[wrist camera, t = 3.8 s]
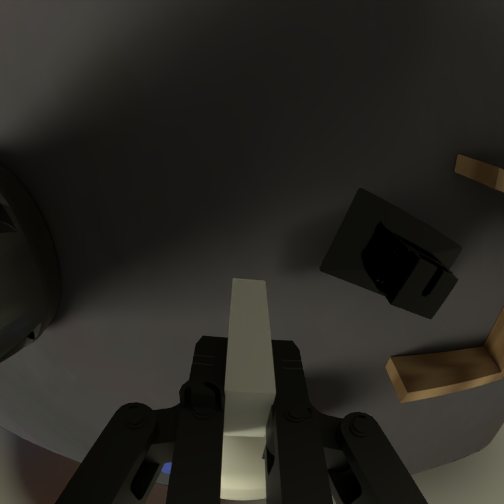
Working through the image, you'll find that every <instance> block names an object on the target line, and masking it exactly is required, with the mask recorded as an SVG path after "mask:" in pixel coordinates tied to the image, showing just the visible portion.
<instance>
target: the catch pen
mask: <svg viewBox="0 0 504 504" xmlns="http://www.w3.org/2000/svg"><path fill="white" fill-rule="evenodd" d="M454 172H456V173H458V174H461V175H463V176H466V177H468V178H470V179H473V180H475V181H478V182H480V183H482V184H484V185H487V186H489V187H491V188H493V189H496V190H499V191H501V192H504V170H503V169H501V168H499V167H496V166H493V165H490V164H487V163H484V162H481V161H478V160H475V159H472V158H469V157H466V156H463V155H459V154H458V155H457V160H456V165H455V171H454ZM385 368H386V370H387V372H388V375H389V377H390V379H391V381H392V384H393V386H394V388H395V390H396V393H397V395H398V397H399V399H400V402H401V403H402V402H409V401H414V400H420V399H425V398H430V397H435V396H440V395H444V394H449V393H453V392H457V391H461V390H465V389H469V388H473V387H476V386H480V385H483V384H487V383H490V382H493V381H497V380H500V379H502V378H503V376H504V307H503V309H502V311H501V313H500V315H499V317H498V319H497V321H496V323H495V325H494V327H493V329H492V331H491V332H490V334H489V336H488V338H487V340H486V341H485V343H484V345H483V346H481V347H475V348H469V349H462V350H455V351H447V352H439V353H430V354H420V355H409V356H397V357H390V358H389V360H388V362H387V364H386V366H385Z"/></svg>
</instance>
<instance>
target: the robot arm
mask: <svg viewBox="0 0 504 504" xmlns="http://www.w3.org/2000/svg"><path fill="white" fill-rule="evenodd" d="M60 292H61V284H60V272H59V266H58V261H57V257H56V253H55V249H54V246H53V243H52V240H51V237H50V234H49V231H48V229H47V227H46V224H45V222H44V220H43V218H42V216H41V214H40V212H39V210H38V208H37V206H36V204H35V203H34V201H33V199H32V198H31V196H30V195H29V193H28V192H27V190H26V189H25V188H24V187H23V185H22V184H21V183H20V182H19V181H18V179H17V178H16V177H15V176H14V175H13V174H12V173H11V172H9V171H8V170H7V169H6V168H4V167H3V166H1V165H0V363H1V362H2V361H4V360H6V359H7V358H9V357H10V356H12V355H14V354H15V353H17V352H18V351H19V350H21V349H22V348H23V347H26V346H28V345H30V344H31V343H33V342H34V341H36V340H37V339H38V338H39V337H40V336H41V334H42V333H43V332H44V330H45V329H46V327H47V326H48V325H49V323H50V322H51V321H52V319H53V318H54V316H55V314H56V312H57V309H58V306H59V301H60ZM179 395H180V403H179V404H178V405H176V406H174V407H171V408H167V409H160V410H152V409H151V408H150V407H148V406H147V405H145V404H142V403H137V402H135V403H128V404H125V405H123V406H121V407H120V408H119V409H118V410H117V411H116V413H115V414H114V415H113V417H112V418H111V420H110V421H109V423H108V424H107V426H106V427H105V429H104V430H103V432H102V433H101V435H100V436H99V438H98V439H97V441H96V442H95V443H94V445H93V446H92V448H91V449H90V451H89V452H88V454H87V455H86V457H85V458H84V460H83V461H82V463H81V464H80V466H79V467H78V469H77V471H76V472H75V474H74V475H73V477H72V478H71V480H70V481H69V483H68V484H67V486H66V487H65V489H64V490H63V492H62V493H61V495H60V496H59V498H58V500H57V501H56V503H55V504H145V502H146V500H147V498H148V496H149V494H150V492H151V490H152V488H153V486H154V484H155V482H156V480H157V478H158V476H159V474H160V472H161V470H162V468H163V466H164V464H165V463H170V462H172V465H171V471H170V478H169V485H168V491H167V499H166V504H220V495H221V472H222V451H223V435H228V436H247V437H264V436H265V433H266V445H265V448H264V451H263V455H262V459H265V479H266V502H267V504H333V500H332V495H333V498H334V500H335V502H336V504H428V503H427V501H426V499H425V498H424V496H423V495H422V493H421V492H420V490H419V488H418V487H417V485H416V484H415V482H414V480H413V478H412V477H411V475H410V474H409V472H408V470H407V469H406V467H405V466H404V464H403V462H402V461H401V459H400V458H399V456H398V455H397V453H396V451H395V450H394V448H393V447H392V445H391V443H390V442H389V440H388V439H387V437H386V435H385V434H384V432H383V431H382V429H381V428H380V426H379V424H378V423H377V421H376V420H375V419H374V418H373V417H372V416H370V415H368V414H366V413H362V412H354V413H350V414H348V415H346V416H345V417H344V418H343V419H342V418H337V417H333V416H328V415H325V414H322V413H321V412H319V411H317V410H316V409H315V408H314V407H313V406H312V404H311V403H310V401H309V398H308V392H307V387H306V382H305V377H304V371H303V366H302V362H301V356H300V351H299V349H298V347H297V346H296V345H295V343H294V342H293V341H286V340H271V334H270V324H269V313H268V303H267V293H266V283H265V281H263V280H250V279H238V278H233V284H232V296H231V308H230V321H229V334H228V338H224V337H212V336H202V337H201V339H200V340H199V341H198V342H197V343H196V346H195V351H194V357H193V362H192V367H191V372H190V378H189V381H187V382H186V383H185V384H183V385H182V387H181V389H180V391H179ZM331 493H332V494H331Z"/></svg>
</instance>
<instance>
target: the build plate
mask: <svg viewBox="0 0 504 504" xmlns="http://www.w3.org/2000/svg"><path fill="white" fill-rule="evenodd" d="M461 250H462V247H461V246H460V245H458V244H457V243H455V242H453V241H452V240H450V239H449V238H447V237H446V236H444V235H443V234H441V233H439V232H438V231H436V230H435V229H433V228H431V227H430V226H428V225H426V224H425V223H423V222H421V221H420V220H418V219H416V218H415V217H413V216H411V215H410V214H408V213H406V212H404V211H403V210H401V209H399V208H397V207H396V206H394V205H392V204H390V203H389V202H387V201H385V200H383V199H381V198H379V197H378V196H376V195H374V194H372V193H370V192H368V191H366V190H364V189H362V188H359V189H358V191H357V193H356V195H355V197H354V199H353V201H352V203H351V206H350V208H349V210H348V212H347V214H346V216H345V218H344V220H343V222H342V224H341V226H340V228H339V230H338V232H337V234H336V236H335V238H334V240H333V242H332V244H331V246H330V248H329V250H328V252H327V254H326V256H325V258H324V260H323V262H322V264H321V266H320V268H319V269H320V271H322V272H324V273H327V274H329V275H332V276H335V277H337V278H340V279H342V280H345V281H348V282H350V283H353V284H355V285H358V286H360V287H363V288H365V289H368V290H371V291H373V292H376V293H378V294H381V295H383V296H385V297H386V299H387V300H388V302H389V303H390V304H391V305H393V306H396V307H399V308H402V309H404V310H407V311H410V312H412V313H415V314H418V315H420V316H423V317H426V318H429V319H432V318H433V316H434V315H435V314H436V312H437V311H438V309H439V308H440V307H441V305H442V304H443V302H444V301H445V299H446V298H447V296H448V295H449V293H450V292H451V290H452V289H453V287H454V286H455V284H456V283H457V281H458V279H457V278H456V277H455V276H454V275H453V273H452V272H451V271H450V270H449V269H450V267H451V266H452V264H453V263H454V261H455V259H456V258H457V256H458V255H459V253H460V251H461Z"/></svg>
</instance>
